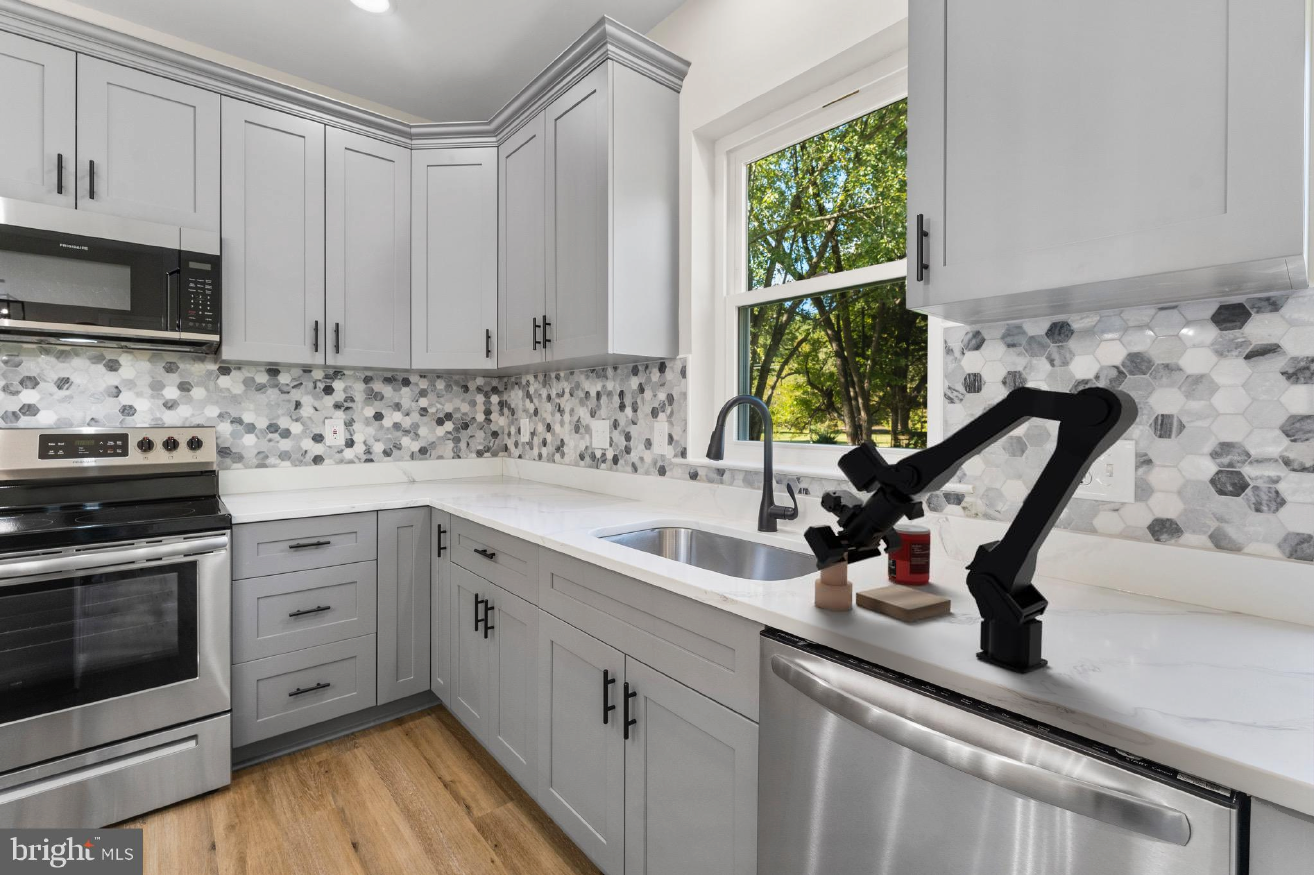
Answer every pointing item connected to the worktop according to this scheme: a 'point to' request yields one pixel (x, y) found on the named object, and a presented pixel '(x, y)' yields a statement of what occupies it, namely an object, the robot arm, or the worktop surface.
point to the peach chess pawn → (834, 588)
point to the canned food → (911, 556)
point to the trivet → (903, 602)
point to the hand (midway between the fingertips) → (828, 566)
